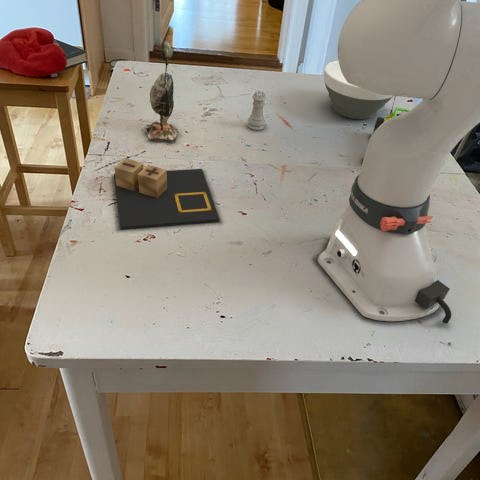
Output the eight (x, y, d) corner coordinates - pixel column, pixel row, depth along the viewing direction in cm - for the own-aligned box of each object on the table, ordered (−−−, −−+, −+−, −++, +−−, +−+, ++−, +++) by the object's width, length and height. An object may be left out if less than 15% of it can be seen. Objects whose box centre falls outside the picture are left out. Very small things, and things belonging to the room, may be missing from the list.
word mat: (219, 221, 88) (219, 218, 87) (120, 229, 84) (120, 226, 83) (201, 171, 99) (201, 168, 99) (114, 176, 96) (113, 172, 95)
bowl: (308, 95, 131) (315, 58, 124) (373, 95, 134) (383, 59, 127) (330, 128, 118) (339, 89, 111) (402, 127, 121) (415, 89, 114)
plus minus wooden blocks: (157, 198, 90) (156, 179, 87) (116, 185, 92) (113, 166, 89) (167, 188, 93) (166, 169, 90) (127, 176, 95) (125, 157, 92)
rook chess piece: (243, 125, 115) (246, 91, 110) (257, 121, 117) (261, 87, 112) (254, 132, 113) (258, 98, 107) (268, 128, 115) (273, 95, 109)
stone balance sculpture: (184, 123, 113) (183, 30, 99) (174, 145, 106) (171, 48, 91) (151, 119, 114) (145, 25, 99) (138, 141, 106) (130, 42, 91)
